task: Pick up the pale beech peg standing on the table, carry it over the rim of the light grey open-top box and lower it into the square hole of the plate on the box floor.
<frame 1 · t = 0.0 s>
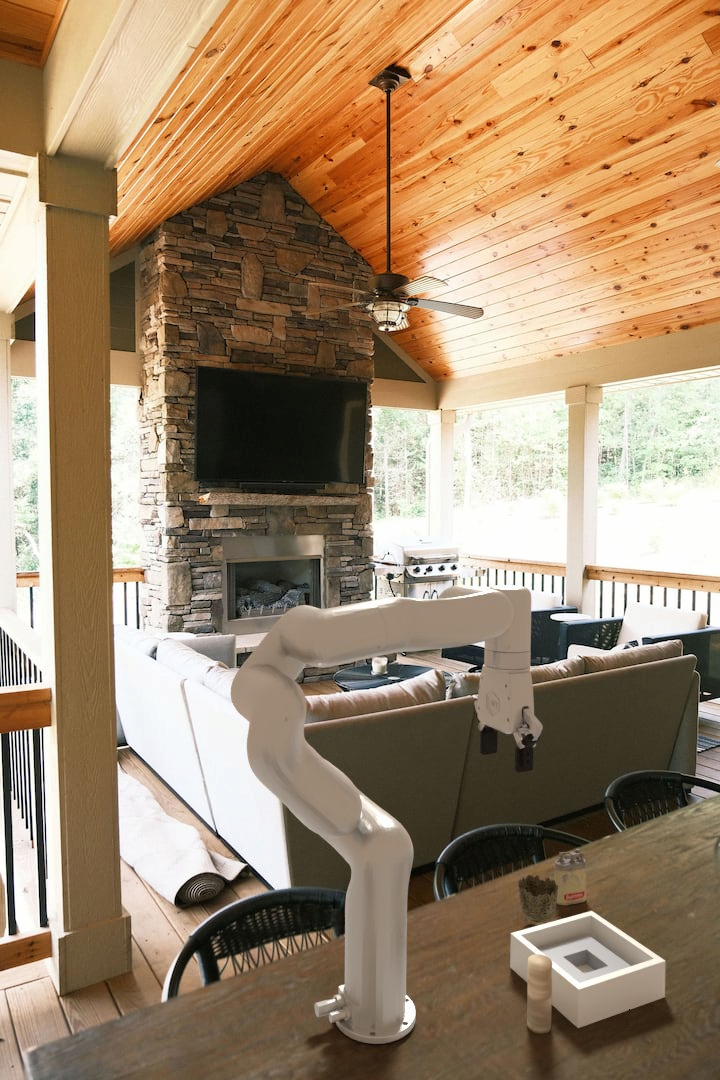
hand: (505, 761, 125), 37 cm above the table, tool pointing down, fingers open, 9 cm apart
cup: (537, 926, 143), on the table
peg: (538, 1025, 115), on the table
box: (585, 981, 126), on the table
lighter: (569, 900, 153), on the table
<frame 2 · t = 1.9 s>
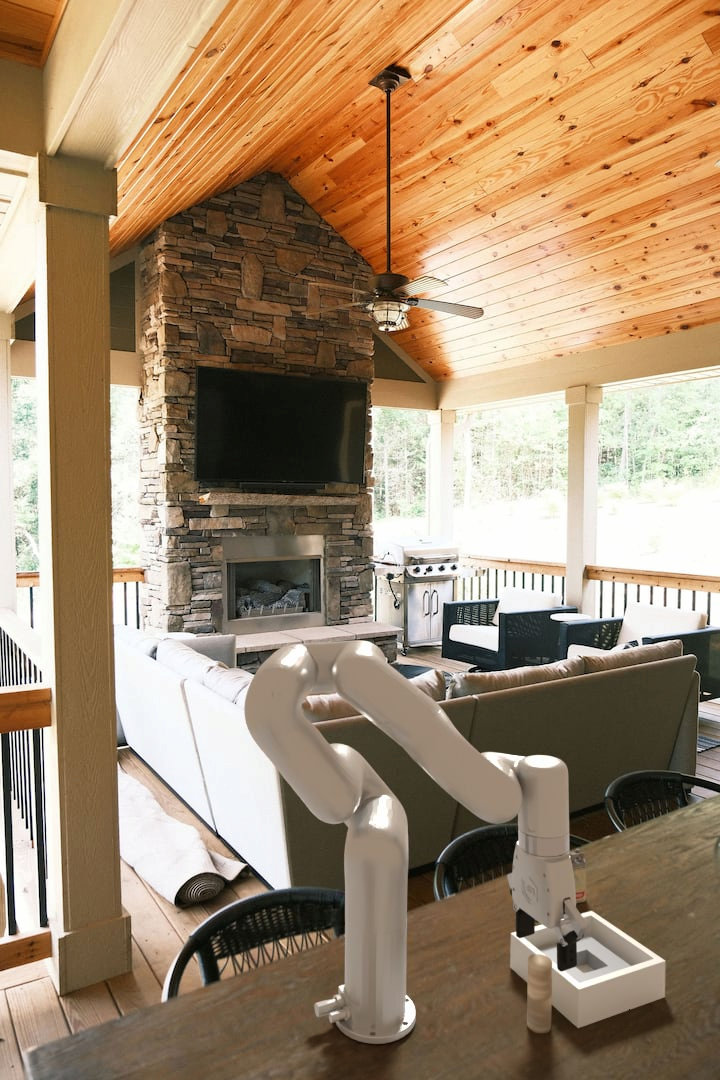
hand: (545, 951, 114), 12 cm above the table, tool pointing down, fingers open, 9 cm apart
nothing on the table moved.
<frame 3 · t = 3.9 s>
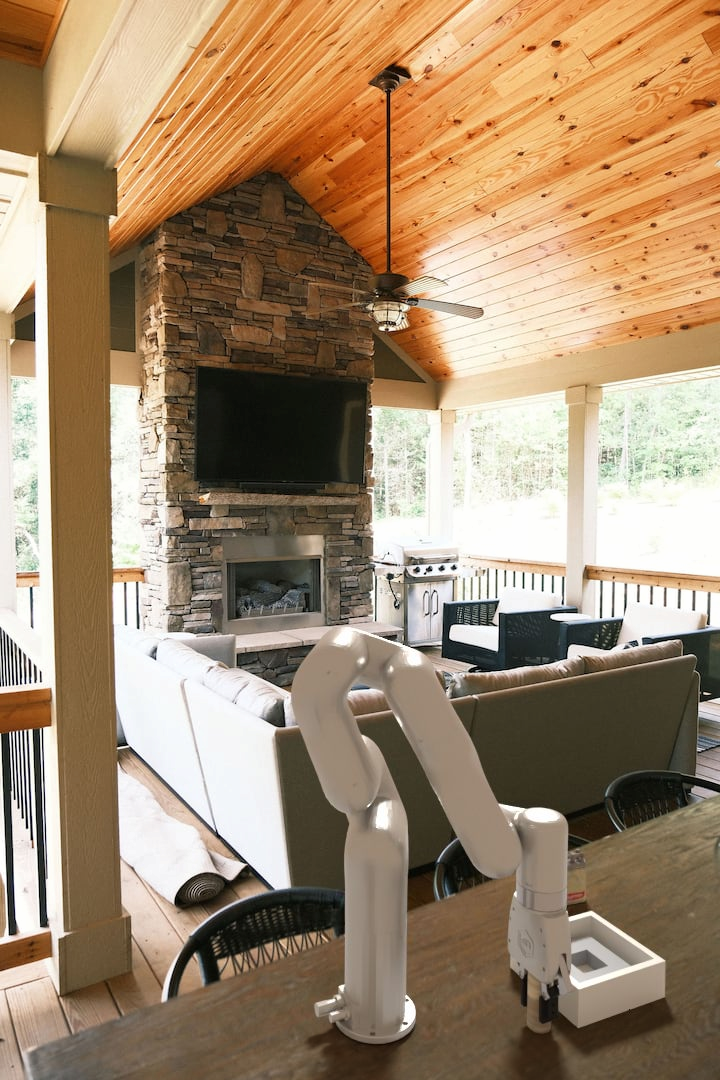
hand: (539, 1010, 115), 2 cm above the table, tool pointing down, fingers closed on peg, 3 cm apart
peg: (539, 1025, 115), on the table, touching gripper
everything else where it was.
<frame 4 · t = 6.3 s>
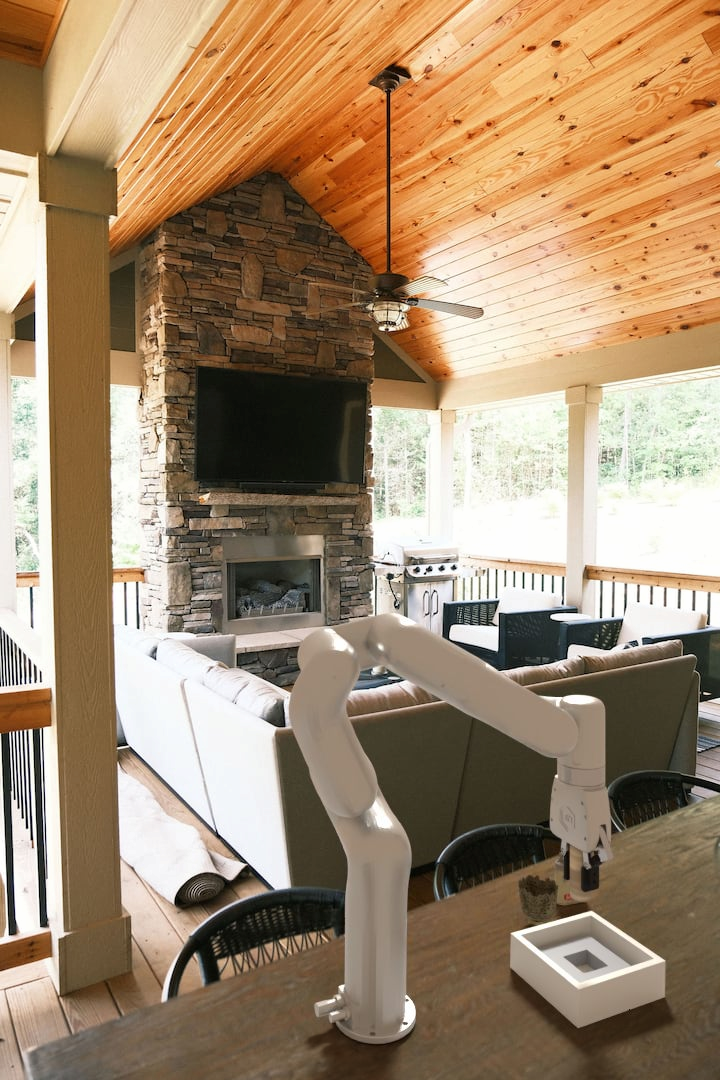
hand: (581, 882, 123), 18 cm above the table, tool pointing down, fingers closed on peg, 3 cm apart
peg: (581, 896, 123), point 16 cm above the table, touching gripper
everything else where it was.
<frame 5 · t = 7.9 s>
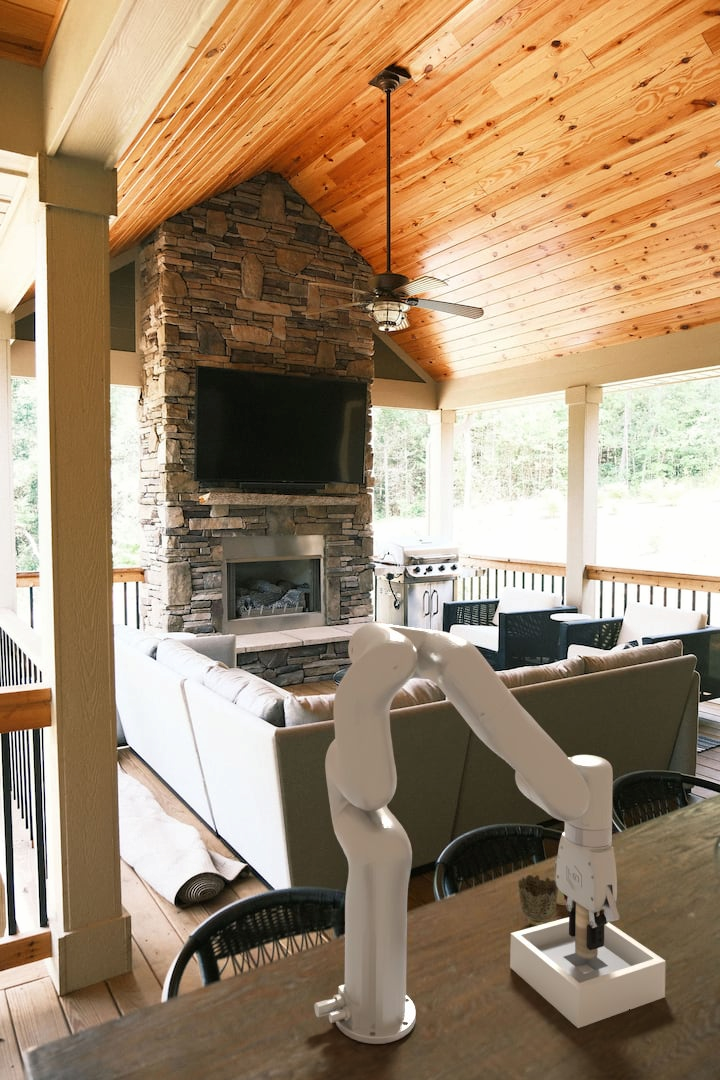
hand: (586, 939, 126), 7 cm above the table, tool pointing down, fingers closed on peg, 3 cm apart
peg: (586, 952, 126), point 5 cm above the table, touching gripper
everything else where it was.
when the fingers open (4 cm above the table, at t = 9.1 s): peg stays where it is, resting on box.
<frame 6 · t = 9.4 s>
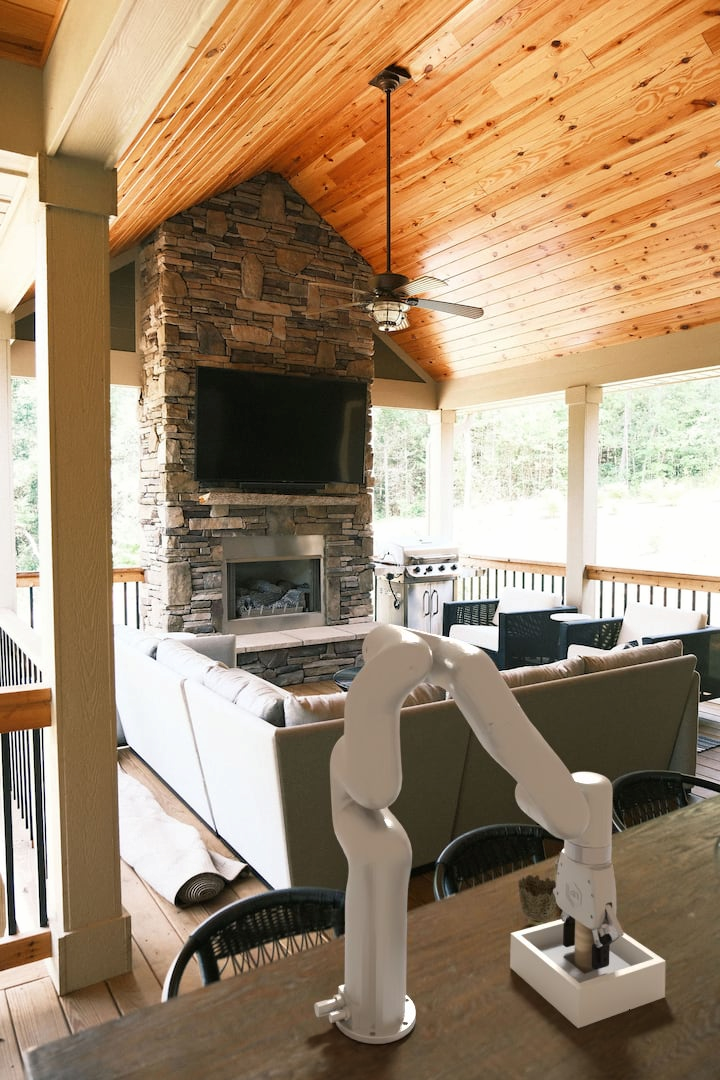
hand: (585, 954, 126), 5 cm above the table, tool pointing down, fingers open, 6 cm apart
peg: (585, 976, 126), point 1 cm above the table, touching box
everything else where it was.
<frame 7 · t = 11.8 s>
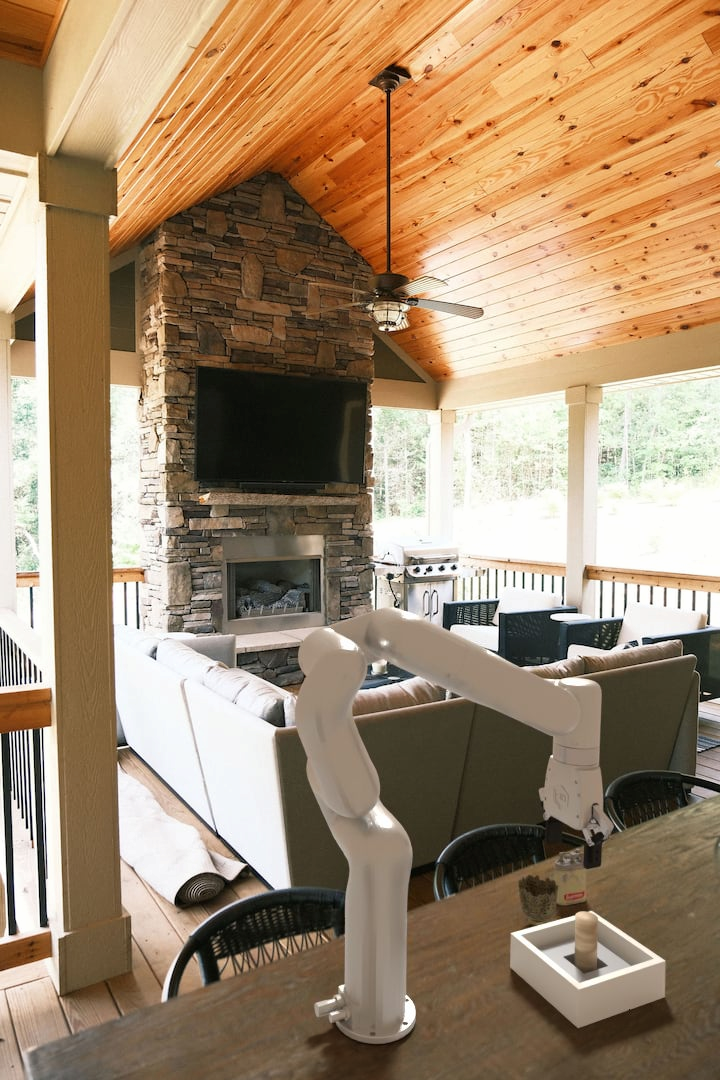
hand: (572, 854, 126), 21 cm above the table, tool pointing down, fingers open, 9 cm apart
nothing on the table moved.
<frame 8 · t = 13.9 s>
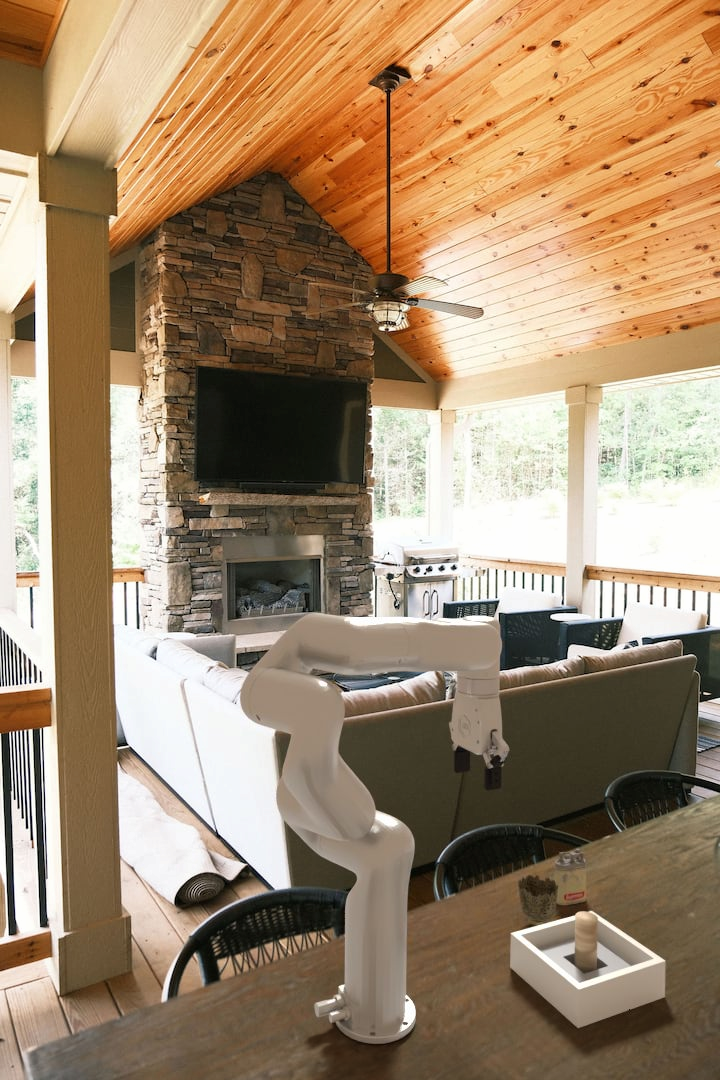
hand: (476, 780, 135), 30 cm above the table, tool pointing down, fingers open, 9 cm apart
nothing on the table moved.
at the end: peg 0.0 cm off-centre on the box, point 1.0 cm above the box's base; peg tilted 0°; the gripper is holding nothing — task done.
